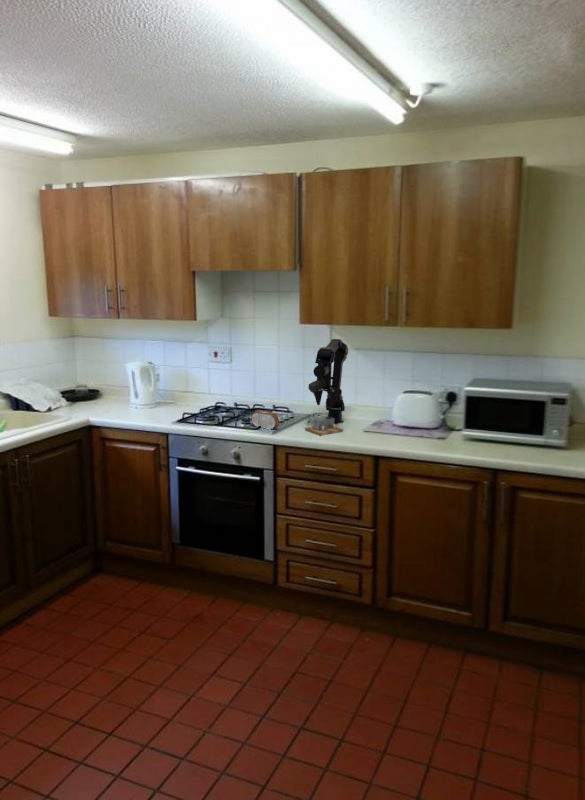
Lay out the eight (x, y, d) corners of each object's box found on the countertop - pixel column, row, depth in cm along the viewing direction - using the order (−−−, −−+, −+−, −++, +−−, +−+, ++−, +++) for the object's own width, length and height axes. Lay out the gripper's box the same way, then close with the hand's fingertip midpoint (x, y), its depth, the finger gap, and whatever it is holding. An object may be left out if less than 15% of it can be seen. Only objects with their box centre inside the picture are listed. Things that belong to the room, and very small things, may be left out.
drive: (328, 426, 315) (328, 416, 314) (334, 428, 312) (334, 418, 311) (313, 429, 308) (313, 419, 307) (318, 431, 305) (319, 420, 304)
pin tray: (327, 426, 319) (327, 419, 318) (342, 431, 309) (343, 424, 309) (304, 430, 311) (304, 422, 310) (320, 435, 301) (320, 428, 301)
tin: (279, 429, 311) (279, 412, 310) (276, 431, 309) (276, 414, 307) (253, 425, 319) (253, 409, 317) (250, 426, 316) (250, 410, 314)
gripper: (300, 373, 307) (299, 405, 311) (324, 379, 293) (323, 412, 296) (318, 371, 314) (317, 402, 317) (343, 377, 299) (341, 409, 302)
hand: (324, 406), depth 308 cm, fingers open, 9 cm apart
